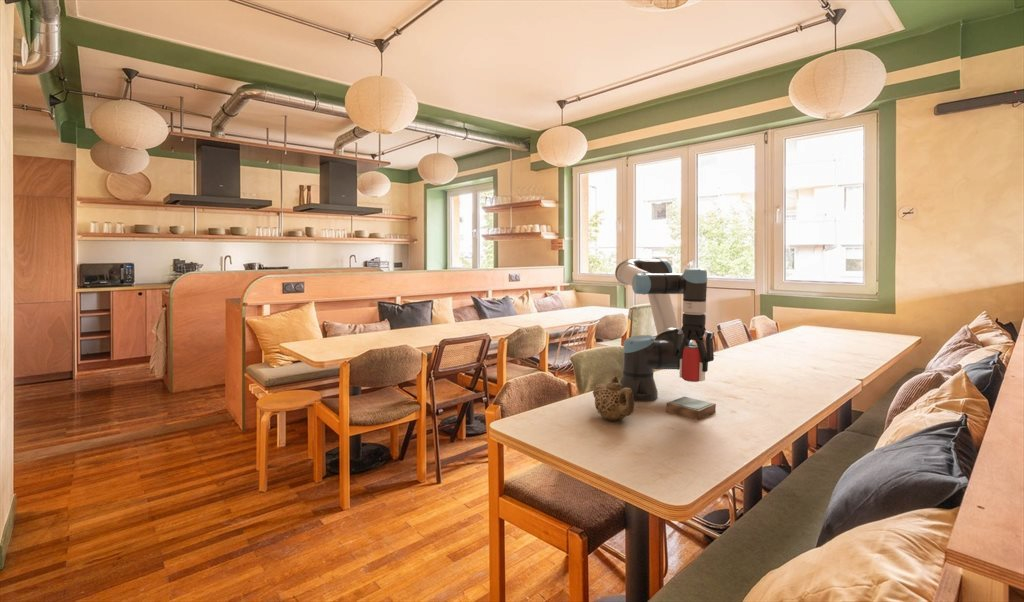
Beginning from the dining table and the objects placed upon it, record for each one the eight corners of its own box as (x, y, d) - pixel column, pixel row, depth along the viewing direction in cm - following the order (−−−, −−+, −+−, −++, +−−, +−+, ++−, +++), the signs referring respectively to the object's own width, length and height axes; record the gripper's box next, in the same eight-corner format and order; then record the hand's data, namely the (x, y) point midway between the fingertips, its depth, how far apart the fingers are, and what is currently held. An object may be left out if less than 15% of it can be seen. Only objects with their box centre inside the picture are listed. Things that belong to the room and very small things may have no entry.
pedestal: (666, 411, 174) (666, 402, 174) (683, 404, 182) (684, 395, 182) (698, 419, 165) (698, 410, 165) (715, 412, 173) (715, 403, 173)
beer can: (703, 382, 168) (704, 348, 167) (683, 381, 170) (684, 347, 169) (700, 378, 175) (701, 344, 174) (680, 377, 176) (681, 344, 175)
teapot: (582, 412, 173) (582, 370, 171) (609, 408, 177) (610, 367, 176) (618, 433, 153) (618, 385, 152) (648, 427, 158) (649, 381, 156)
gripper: (662, 311, 175) (661, 375, 177) (716, 316, 160) (714, 386, 163) (674, 310, 180) (672, 372, 182) (727, 314, 165) (724, 382, 168)
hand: (692, 378), depth 172 cm, fingers closed on beer can, 7 cm apart
